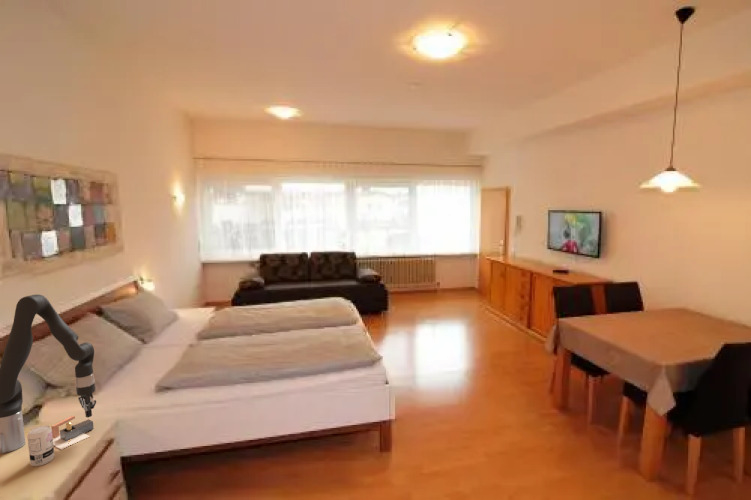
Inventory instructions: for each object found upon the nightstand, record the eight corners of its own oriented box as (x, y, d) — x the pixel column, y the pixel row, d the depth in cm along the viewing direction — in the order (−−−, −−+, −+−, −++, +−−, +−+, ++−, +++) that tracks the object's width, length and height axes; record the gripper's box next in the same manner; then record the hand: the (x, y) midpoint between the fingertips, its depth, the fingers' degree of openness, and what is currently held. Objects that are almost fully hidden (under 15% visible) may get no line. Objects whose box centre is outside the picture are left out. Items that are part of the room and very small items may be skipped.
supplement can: (29, 461, 172) (26, 430, 171) (53, 453, 179) (50, 422, 177) (31, 469, 167) (28, 437, 166) (55, 460, 173) (52, 429, 172)
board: (61, 450, 181) (61, 449, 181) (44, 440, 190) (44, 439, 189) (89, 437, 191) (89, 436, 191) (72, 428, 200) (72, 427, 200)
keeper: (55, 438, 190) (54, 426, 190) (52, 438, 191) (51, 425, 190) (75, 427, 200) (74, 416, 200) (73, 427, 201) (72, 415, 200)
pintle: (68, 439, 190) (67, 424, 189) (66, 438, 191) (65, 423, 190) (73, 437, 192) (71, 422, 191) (71, 436, 192) (70, 421, 192)
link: (66, 441, 187) (65, 433, 187) (60, 438, 190) (59, 430, 190) (94, 429, 198) (93, 421, 198) (88, 426, 201) (88, 419, 200)
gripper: (70, 384, 190) (73, 417, 192) (83, 389, 184) (87, 423, 185) (87, 378, 196) (90, 410, 198) (100, 383, 190) (104, 416, 192)
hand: (88, 416), depth 192 cm, fingers closed
